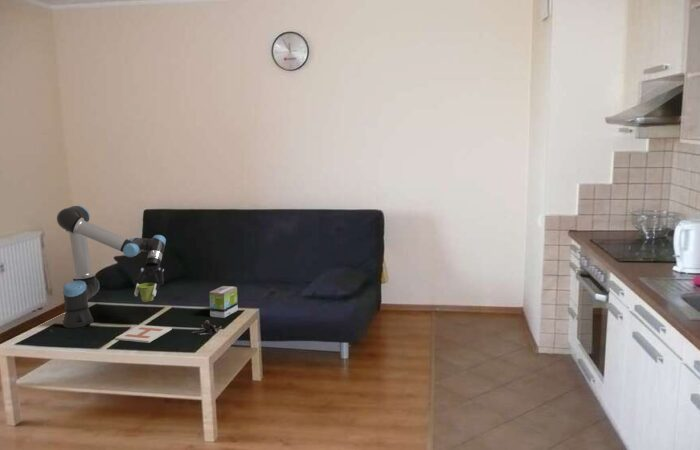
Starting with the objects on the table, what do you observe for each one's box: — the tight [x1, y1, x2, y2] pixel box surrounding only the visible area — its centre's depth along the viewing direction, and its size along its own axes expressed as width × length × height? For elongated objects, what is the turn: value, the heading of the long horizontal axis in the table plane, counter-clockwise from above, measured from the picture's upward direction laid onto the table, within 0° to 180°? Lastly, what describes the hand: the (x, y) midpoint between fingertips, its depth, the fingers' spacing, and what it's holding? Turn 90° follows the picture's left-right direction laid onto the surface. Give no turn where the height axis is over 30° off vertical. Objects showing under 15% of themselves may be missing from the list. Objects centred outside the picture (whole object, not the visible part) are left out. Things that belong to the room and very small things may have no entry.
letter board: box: [114, 324, 173, 344], centre depth 298 cm, size 20×20×1 cm
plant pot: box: [137, 282, 156, 303], centre depth 311 cm, size 9×9×9 cm
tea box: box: [209, 285, 239, 319], centre depth 330 cm, size 15×10×15 cm
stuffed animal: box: [191, 320, 222, 335], centre depth 301 cm, size 12×10×12 cm
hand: (144, 295), depth 308 cm, fingers closed on plant pot, 9 cm apart
